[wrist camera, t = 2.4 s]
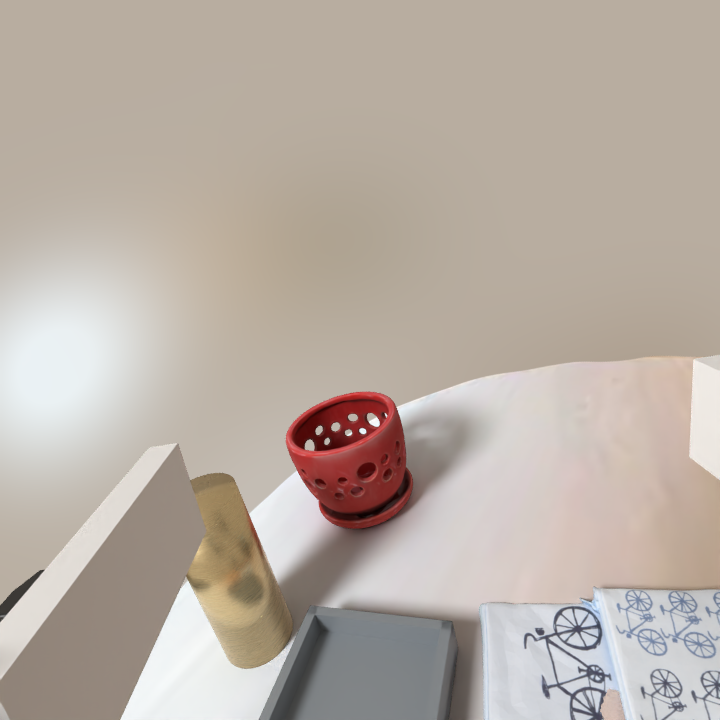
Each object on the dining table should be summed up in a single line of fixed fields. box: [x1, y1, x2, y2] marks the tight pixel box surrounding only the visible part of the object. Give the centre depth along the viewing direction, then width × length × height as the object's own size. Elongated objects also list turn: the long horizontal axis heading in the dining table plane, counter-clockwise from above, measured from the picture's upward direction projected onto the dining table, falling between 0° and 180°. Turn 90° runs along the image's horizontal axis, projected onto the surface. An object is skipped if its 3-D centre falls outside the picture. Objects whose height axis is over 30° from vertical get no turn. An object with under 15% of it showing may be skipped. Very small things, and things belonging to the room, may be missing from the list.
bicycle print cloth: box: [479, 587, 720, 720], centre depth 31 cm, size 19×20×2 cm
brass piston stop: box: [186, 473, 293, 669], centre depth 42 cm, size 6×6×16 cm
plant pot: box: [286, 392, 413, 529], centre depth 56 cm, size 13×13×12 cm
